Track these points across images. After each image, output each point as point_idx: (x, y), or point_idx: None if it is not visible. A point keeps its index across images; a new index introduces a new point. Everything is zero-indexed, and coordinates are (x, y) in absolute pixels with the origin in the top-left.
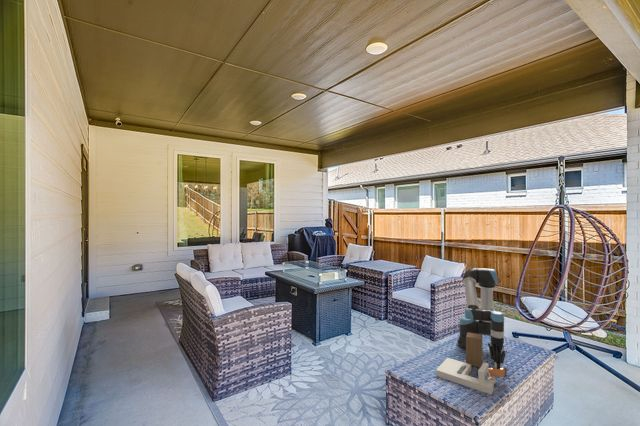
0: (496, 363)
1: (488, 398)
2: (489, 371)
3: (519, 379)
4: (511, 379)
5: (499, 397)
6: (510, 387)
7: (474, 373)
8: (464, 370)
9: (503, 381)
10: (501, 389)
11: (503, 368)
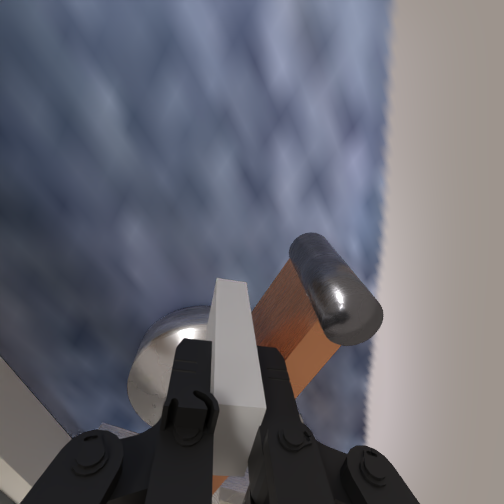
0: (243, 460)
1: None
2: None
3: (384, 15)
4: (318, 117)
5: (363, 443)
6: (370, 281)
7: (38, 341)
8: (20, 498)
9: (283, 239)
10: (332, 364)
11: (331, 335)
